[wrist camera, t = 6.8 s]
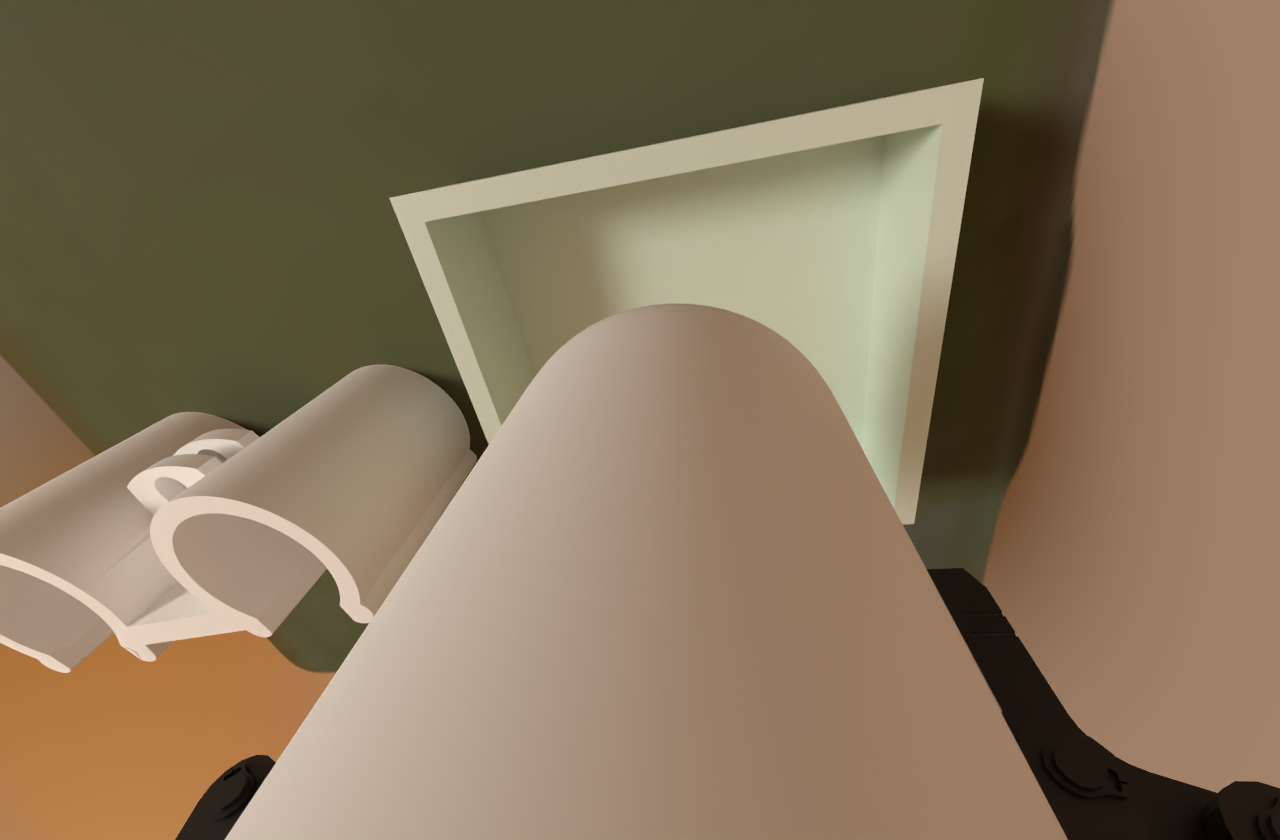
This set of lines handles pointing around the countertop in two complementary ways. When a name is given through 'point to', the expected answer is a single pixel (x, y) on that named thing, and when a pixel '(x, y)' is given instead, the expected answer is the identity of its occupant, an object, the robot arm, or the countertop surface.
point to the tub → (725, 254)
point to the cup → (661, 630)
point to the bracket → (231, 521)
